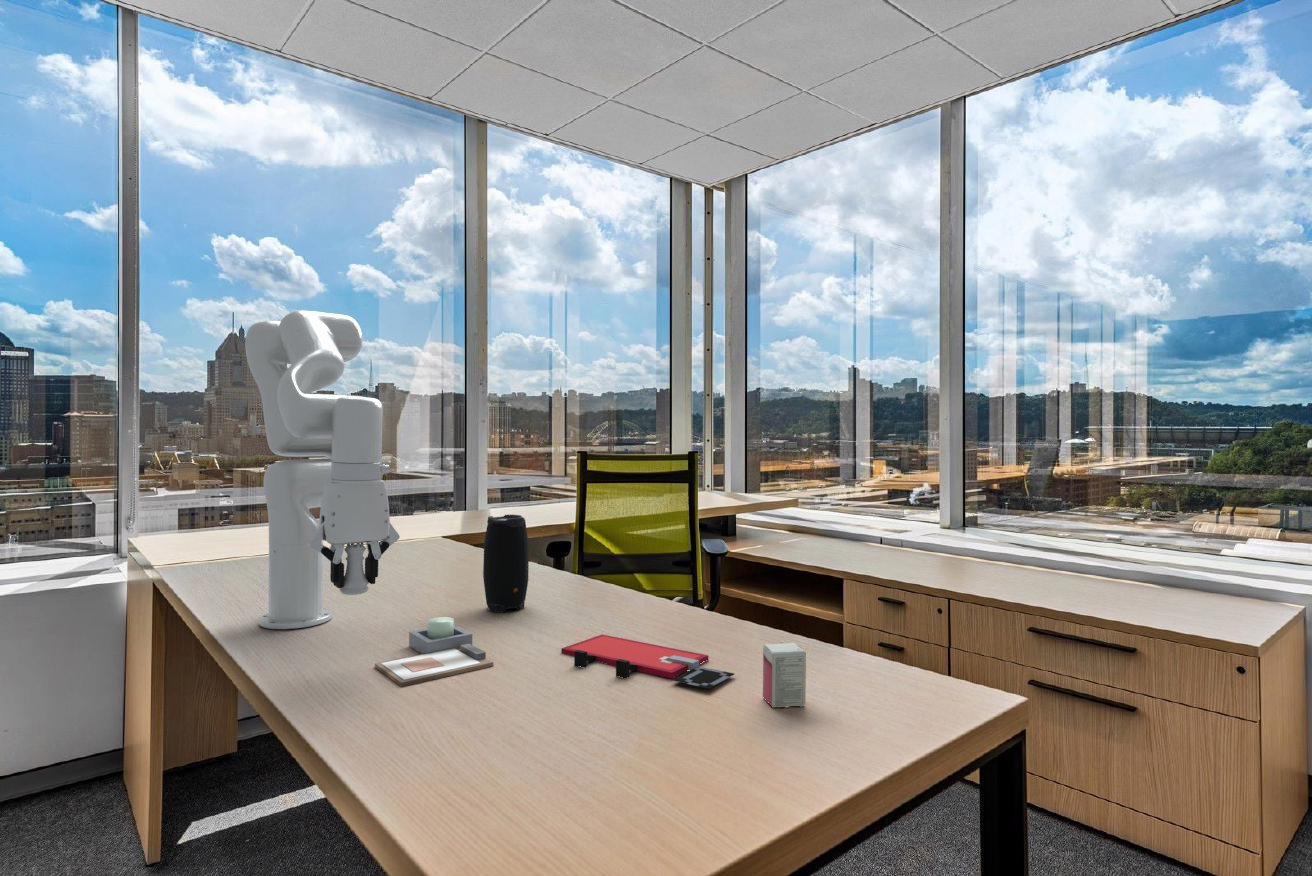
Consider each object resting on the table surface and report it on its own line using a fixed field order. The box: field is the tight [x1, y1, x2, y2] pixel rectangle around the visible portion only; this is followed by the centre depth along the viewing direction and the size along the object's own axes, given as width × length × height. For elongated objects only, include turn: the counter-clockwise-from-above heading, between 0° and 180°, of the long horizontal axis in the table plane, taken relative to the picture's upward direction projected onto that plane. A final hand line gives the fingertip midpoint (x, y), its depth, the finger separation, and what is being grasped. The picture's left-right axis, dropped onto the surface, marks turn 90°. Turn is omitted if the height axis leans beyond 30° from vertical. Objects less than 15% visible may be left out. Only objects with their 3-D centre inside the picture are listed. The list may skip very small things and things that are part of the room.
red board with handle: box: [560, 634, 735, 690], centre depth 118 cm, size 30×3×15 cm
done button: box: [426, 616, 455, 640], centre depth 125 cm, size 4×4×3 cm
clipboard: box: [374, 644, 494, 688], centre depth 115 cm, size 11×15×2 cm
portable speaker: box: [482, 514, 530, 613], centre depth 152 cm, size 9×9×20 cm
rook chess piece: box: [339, 543, 370, 596], centre depth 117 cm, size 4×4×8 cm
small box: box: [762, 642, 807, 708], centre depth 102 cm, size 5×4×8 cm
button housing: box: [408, 624, 473, 654], centre depth 125 cm, size 8×8×2 cm
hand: (354, 583), depth 117 cm, fingers closed on rook chess piece, 4 cm apart
